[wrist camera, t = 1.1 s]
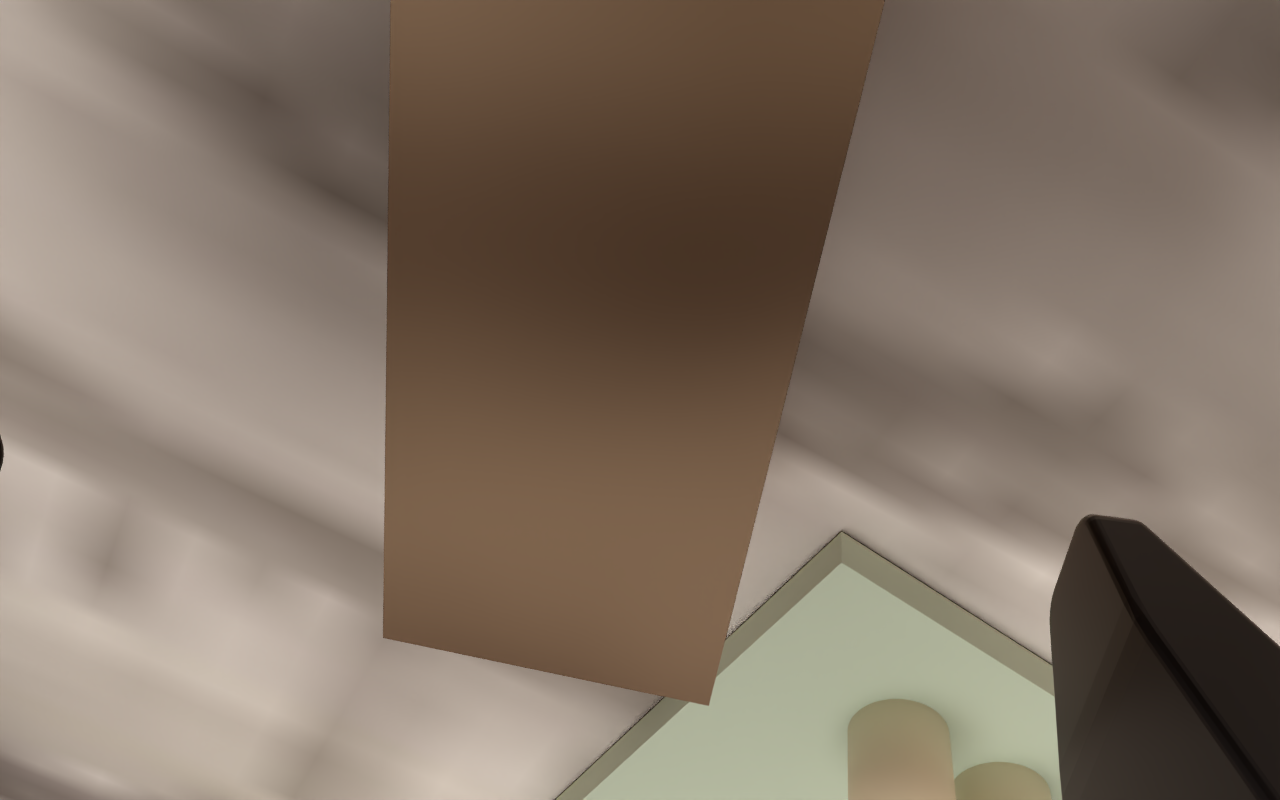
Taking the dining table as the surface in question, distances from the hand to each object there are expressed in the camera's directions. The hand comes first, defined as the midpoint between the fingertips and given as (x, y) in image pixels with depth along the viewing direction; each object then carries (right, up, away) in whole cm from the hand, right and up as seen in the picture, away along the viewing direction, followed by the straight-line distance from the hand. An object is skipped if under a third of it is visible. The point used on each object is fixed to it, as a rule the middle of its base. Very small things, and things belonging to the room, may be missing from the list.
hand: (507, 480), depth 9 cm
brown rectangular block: (+1, +5, +7) cm, 8 cm away
